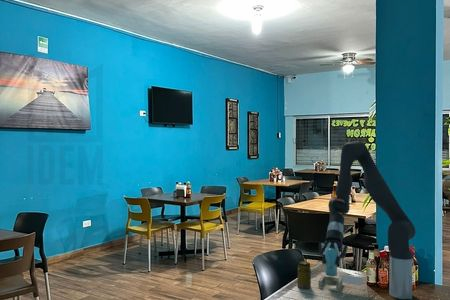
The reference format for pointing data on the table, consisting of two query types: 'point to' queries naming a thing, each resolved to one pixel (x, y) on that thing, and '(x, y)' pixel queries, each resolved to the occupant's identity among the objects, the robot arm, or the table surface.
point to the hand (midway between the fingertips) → (330, 263)
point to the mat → (351, 279)
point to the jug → (330, 261)
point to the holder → (330, 283)
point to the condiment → (304, 275)
